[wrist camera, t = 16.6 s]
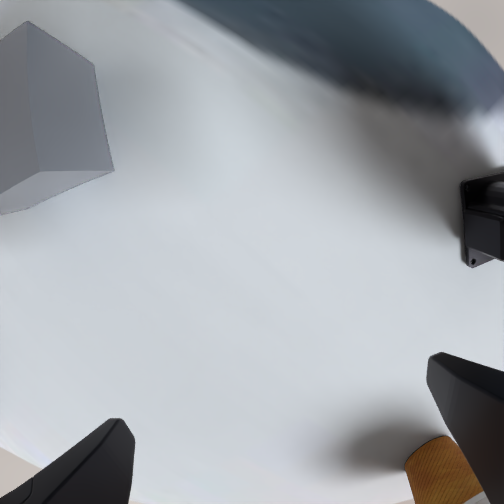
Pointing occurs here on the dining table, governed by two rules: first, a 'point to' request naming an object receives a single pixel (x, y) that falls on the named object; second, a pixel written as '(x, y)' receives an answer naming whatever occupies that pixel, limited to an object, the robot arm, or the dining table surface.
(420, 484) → the disposable coffee cup
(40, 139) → the grey cube
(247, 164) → the dining table surface
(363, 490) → the dining table surface
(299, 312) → the dining table surface
